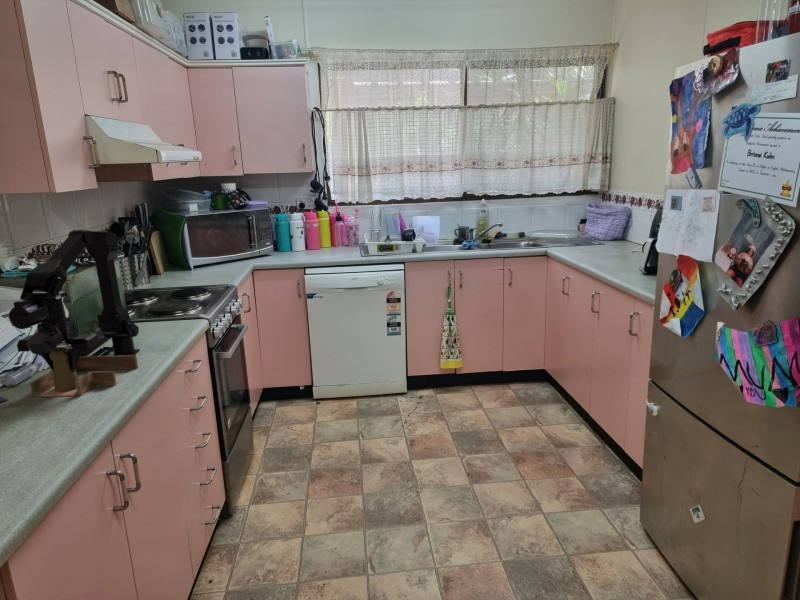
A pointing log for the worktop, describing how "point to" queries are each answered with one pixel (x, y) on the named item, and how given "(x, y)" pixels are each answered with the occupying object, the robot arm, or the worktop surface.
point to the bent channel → (92, 377)
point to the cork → (62, 370)
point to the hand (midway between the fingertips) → (64, 372)
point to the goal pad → (59, 392)
